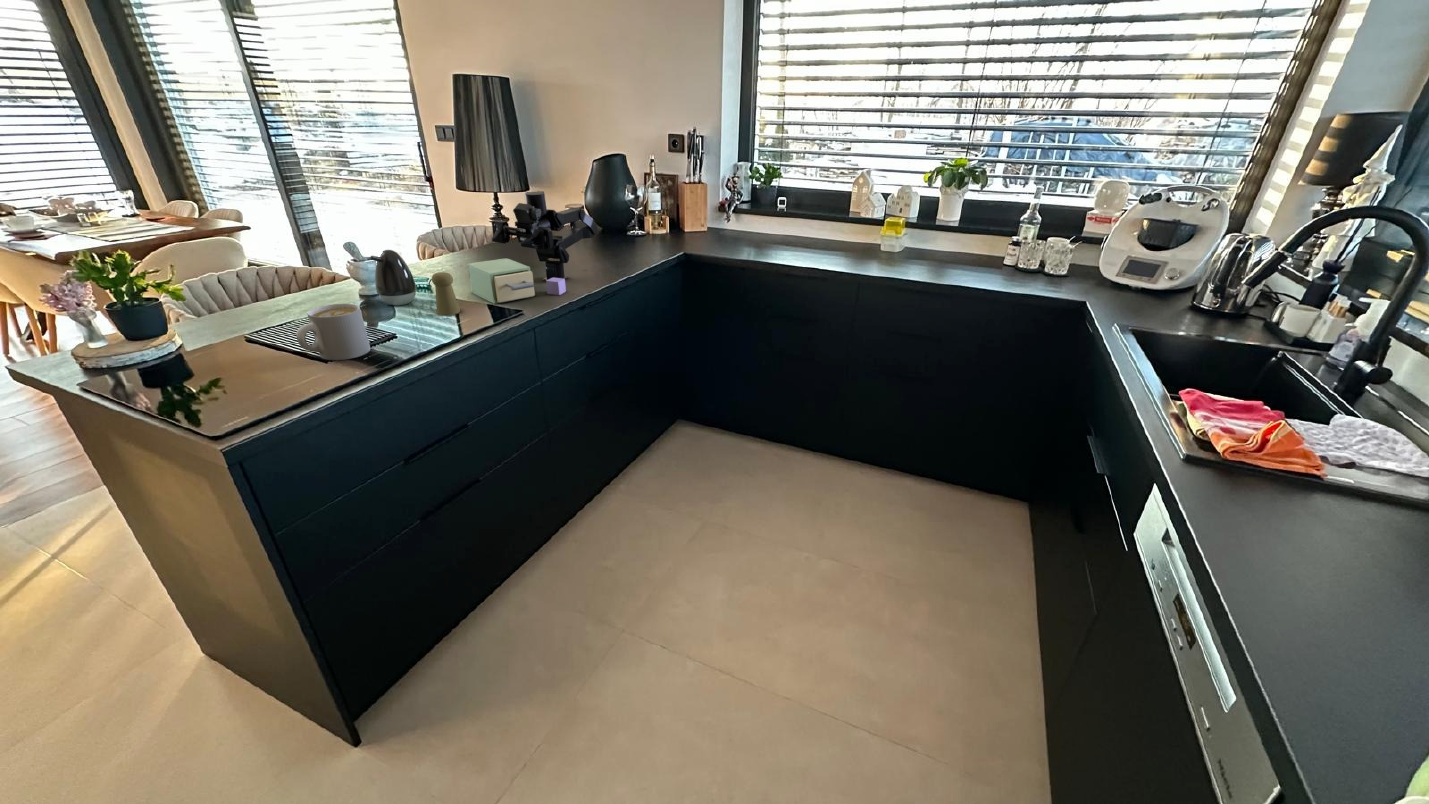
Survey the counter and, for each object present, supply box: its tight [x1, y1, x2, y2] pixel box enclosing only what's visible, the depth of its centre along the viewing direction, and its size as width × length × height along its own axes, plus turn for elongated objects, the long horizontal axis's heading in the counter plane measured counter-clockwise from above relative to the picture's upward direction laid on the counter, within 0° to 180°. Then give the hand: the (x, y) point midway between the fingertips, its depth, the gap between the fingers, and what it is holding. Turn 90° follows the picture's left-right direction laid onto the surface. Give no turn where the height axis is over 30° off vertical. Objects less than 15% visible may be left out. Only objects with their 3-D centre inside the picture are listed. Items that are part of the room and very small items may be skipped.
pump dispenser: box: [369, 249, 418, 306], centre depth 157 cm, size 10×10×15 cm
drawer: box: [493, 270, 536, 303], centre depth 167 cm, size 18×11×7 cm, turn 45°
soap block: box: [545, 278, 567, 296], centre depth 175 cm, size 4×4×4 cm
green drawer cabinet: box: [467, 257, 534, 305], centre depth 170 cm, size 15×13×9 cm
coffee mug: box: [296, 303, 372, 361], centre depth 124 cm, size 13×10×10 cm
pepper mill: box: [431, 271, 461, 316], centre depth 153 cm, size 6×6×11 cm
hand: (507, 242), depth 160 cm, fingers open, 9 cm apart
